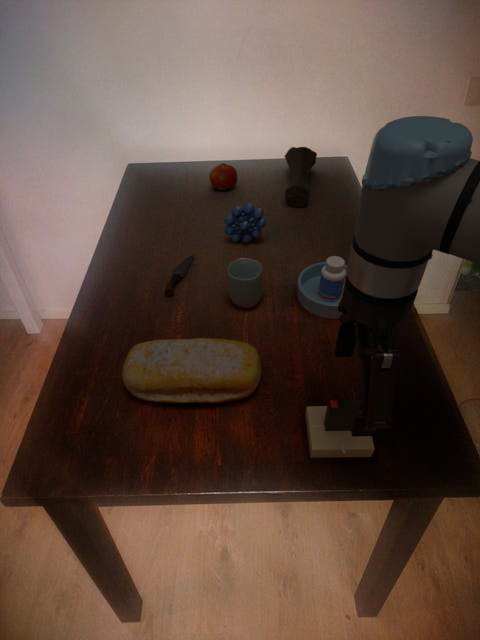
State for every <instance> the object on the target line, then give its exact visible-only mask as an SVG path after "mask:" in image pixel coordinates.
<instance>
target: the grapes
mask: <svg viewBox="0 0 480 640" xmlns="http://www.w3.org/2000/svg"><path fill="white" fill-rule="evenodd" d="M264 214H265V211H264V210H263V209H262V208H261V207H257V208H255V205H254V204H253V203H251V202H249V203H246V204H244V205H243V207H242V206H241V205H235V206H234V207H233V208H232V209H231V214H227V215H226V216H225V217H224V224H225V227H224V233H225V235H227V236H230V240H231V241H232V242H234V243H238V242H240V241H241V242H242V243H244V244H248V243H250V242H251V241H252V240H253V238H254V239H257V238H260V237H262V236H261V235H262V234H263V230H262V229H264V228H265V227H266V226H267V224H268V221H267V219H266V218H265V217H264V216H265V215H264Z"/></svg>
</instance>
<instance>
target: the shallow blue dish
mask: <svg viewBox="0 0 480 640" xmlns="http://www.w3.org/2000/svg"><path fill="white" fill-rule="evenodd" d="M325 265H326V261H322V262H317V263H313V264H311V265H309V266H307V267H305V268H304V269H303V270H302V271H301V272H300V273H299V276H298V278H297V282H296V283H297V284H296V299H297V301H298V303H299V305H300V306H301V307H302V308H303V309H304V310H305V311H307V312H308V313H310V314H312V315H313V316H316V317H320V318H324V319H329V320H331V319H332V320H333V319H336V320H339V318H340V315H342V312H339V311H338V305H339V303H340V301H341V299H342V296H343V290H344V285H345V280H344V285H343V290H342V295H341V297H340V299H338V300H337V301H333V302H329V301H325V300H323V299H322V298H321V297H320V296H319V293H318V292H319V285H320V278H321V271H322V268H323V267H324V266H325ZM347 265H348V264H344V269H345V271H346V276H347ZM346 276H345V279H346Z"/></svg>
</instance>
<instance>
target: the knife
mask: <svg viewBox="0 0 480 640" xmlns="http://www.w3.org/2000/svg"><path fill="white" fill-rule="evenodd" d="M193 257H194V255H190V256H188V257H186V259H184V260H183V261H182V262H181V263H179V264H178V265H177V266H176V267H175V268H174V269H173V270H172V271H170V273H171V276H170V280H169V281H168V282H167V283H166V285H165V289H164V290H163V291H164V292H163V295H164V296H165V297H168V298H170V297H173V294H174V289H173V287H174V286H175V284H176V283H177V282H180V281H181V279H183V278H185V279H186V276H187V274H188V271H189V270H190V267H191V265H192V264H193Z"/></svg>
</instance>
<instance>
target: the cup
mask: <svg viewBox="0 0 480 640" xmlns="http://www.w3.org/2000/svg"><path fill="white" fill-rule="evenodd" d="M226 271H227V273H226V274H227V275H226V276H227V286H228V292H229V297H230V299H231V301H232V303H233V304H234V305H235V306H236V307H239V308H242V309H252V308H255V306H257V305H258V304H259V302H260V301H261V298H262V294H263V287H264V268H263V264H262V263H261V261H259V260H257V259H254V258H250V257H240V258H237V259H234V260H233V261H231V262H230V263H229V265H228V267H227V270H226Z"/></svg>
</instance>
